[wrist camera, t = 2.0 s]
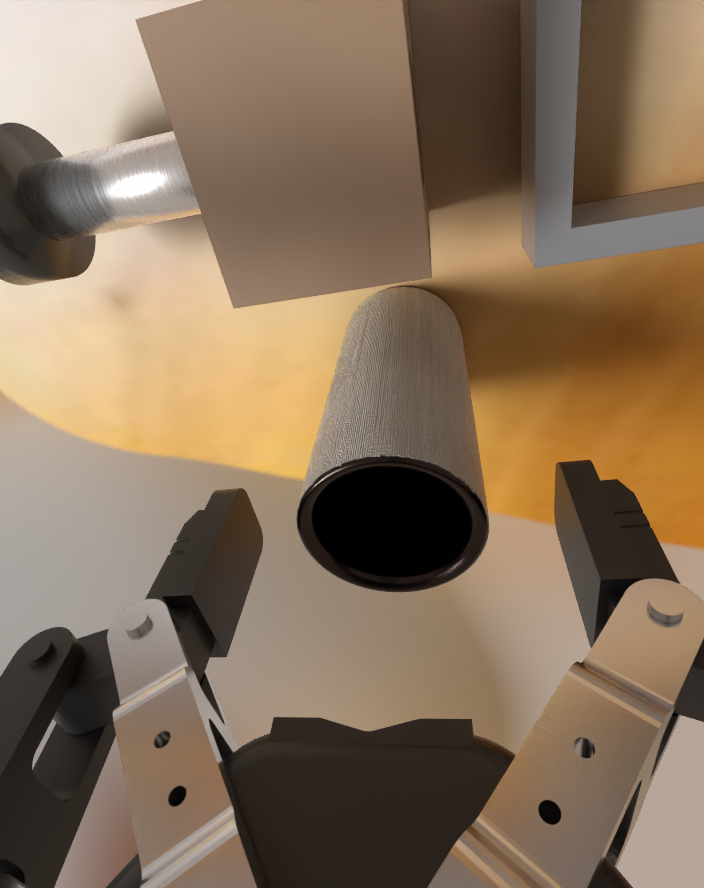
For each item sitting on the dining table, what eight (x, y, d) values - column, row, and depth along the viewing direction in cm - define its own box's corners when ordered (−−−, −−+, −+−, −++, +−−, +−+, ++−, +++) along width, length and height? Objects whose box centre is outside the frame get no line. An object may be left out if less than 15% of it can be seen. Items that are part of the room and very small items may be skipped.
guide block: (235, 33, 15) (135, 19, 10) (405, -14, 14) (395, -56, 9) (287, 236, 18) (233, 308, 13) (429, 211, 17) (431, 277, 12)
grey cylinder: (446, 268, 19) (466, 436, 10) (473, 376, 21) (506, 582, 13) (329, 305, 20) (263, 480, 12) (366, 402, 22) (334, 604, 14)
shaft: (7, 127, 15) (-101, 145, 12) (313, 49, 14) (279, 46, 10) (73, 261, 18) (-3, 306, 15) (344, 210, 16) (324, 249, 13)
